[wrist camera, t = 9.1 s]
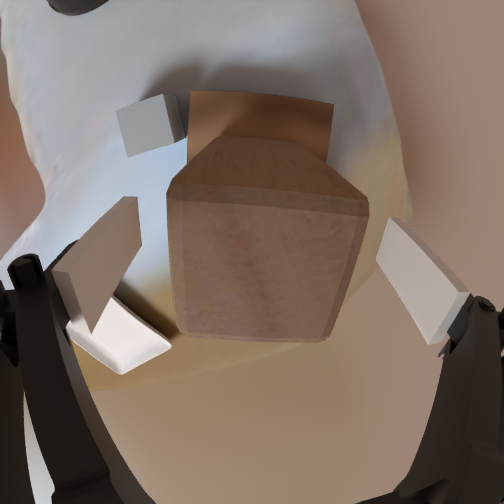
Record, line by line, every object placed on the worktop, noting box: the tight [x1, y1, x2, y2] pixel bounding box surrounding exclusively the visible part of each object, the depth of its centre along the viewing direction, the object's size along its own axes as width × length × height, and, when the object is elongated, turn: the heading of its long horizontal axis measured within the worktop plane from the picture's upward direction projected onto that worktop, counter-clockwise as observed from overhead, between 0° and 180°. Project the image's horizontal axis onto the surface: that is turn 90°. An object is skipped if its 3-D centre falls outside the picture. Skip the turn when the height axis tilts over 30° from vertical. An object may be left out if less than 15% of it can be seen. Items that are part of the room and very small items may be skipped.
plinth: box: [187, 91, 334, 164], centre depth 32 cm, size 16×16×5 cm
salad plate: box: [66, 295, 172, 374], centre depth 49 cm, size 21×21×3 cm
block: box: [166, 136, 369, 343], centre depth 22 cm, size 10×10×20 cm
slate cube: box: [116, 94, 186, 157], centre depth 29 cm, size 6×6×6 cm
